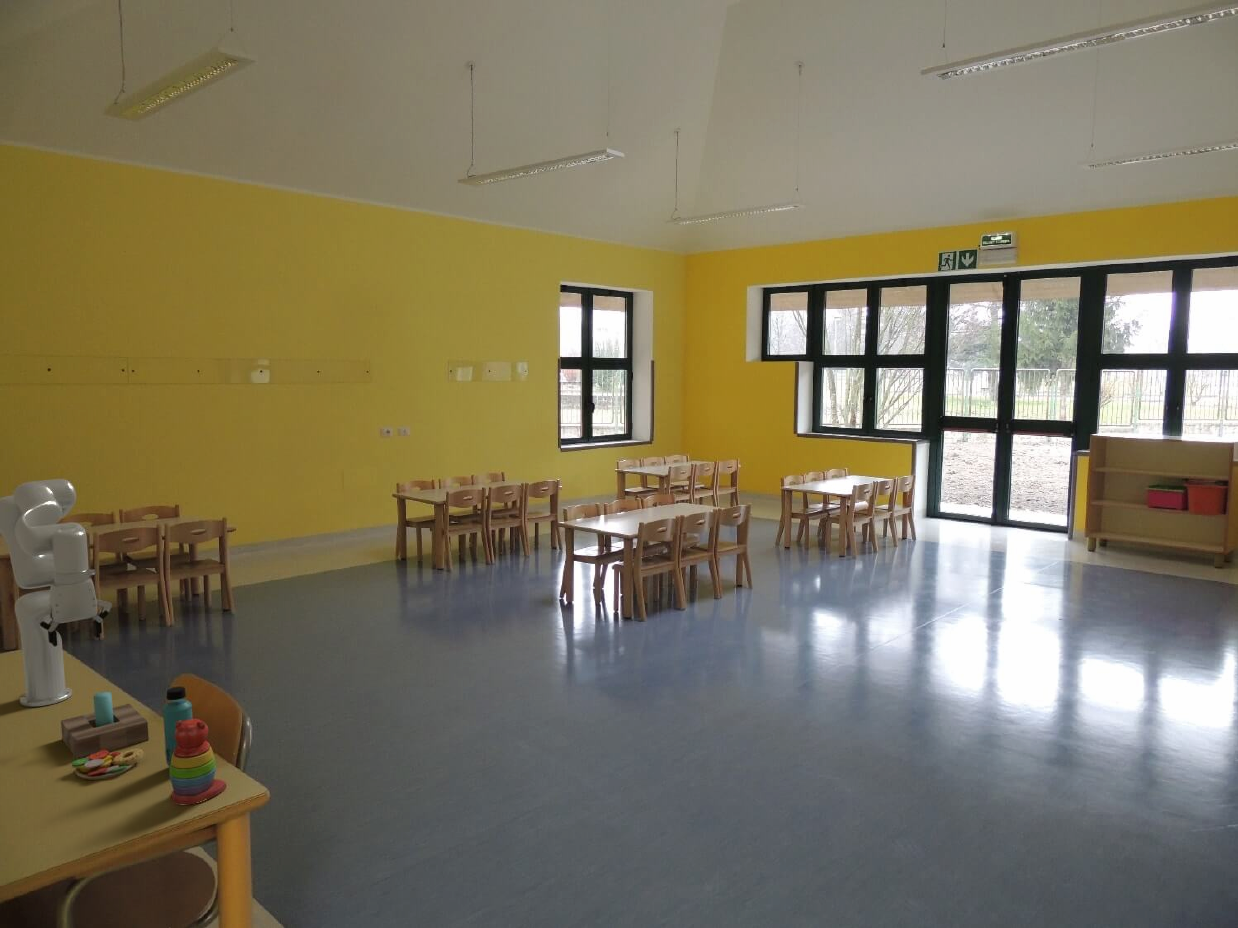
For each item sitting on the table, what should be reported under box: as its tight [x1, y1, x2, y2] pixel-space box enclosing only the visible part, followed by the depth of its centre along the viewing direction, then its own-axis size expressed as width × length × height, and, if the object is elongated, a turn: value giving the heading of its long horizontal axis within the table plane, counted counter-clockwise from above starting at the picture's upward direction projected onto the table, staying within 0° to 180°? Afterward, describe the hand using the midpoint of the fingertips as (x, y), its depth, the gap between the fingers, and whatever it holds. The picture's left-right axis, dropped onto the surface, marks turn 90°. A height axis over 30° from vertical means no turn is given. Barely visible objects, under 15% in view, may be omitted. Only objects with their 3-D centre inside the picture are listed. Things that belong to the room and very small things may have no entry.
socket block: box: [60, 703, 150, 760], centre depth 225 cm, size 16×16×5 cm
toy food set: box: [71, 748, 145, 781], centre depth 210 cm, size 13×13×3 cm
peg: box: [93, 691, 114, 727], centre depth 225 cm, size 4×4×12 cm
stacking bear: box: [168, 718, 227, 805], centre depth 196 cm, size 11×10×18 cm
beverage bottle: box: [162, 686, 193, 768], centre depth 209 cm, size 6×7×20 cm
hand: (75, 640), depth 226 cm, fingers open, 9 cm apart
